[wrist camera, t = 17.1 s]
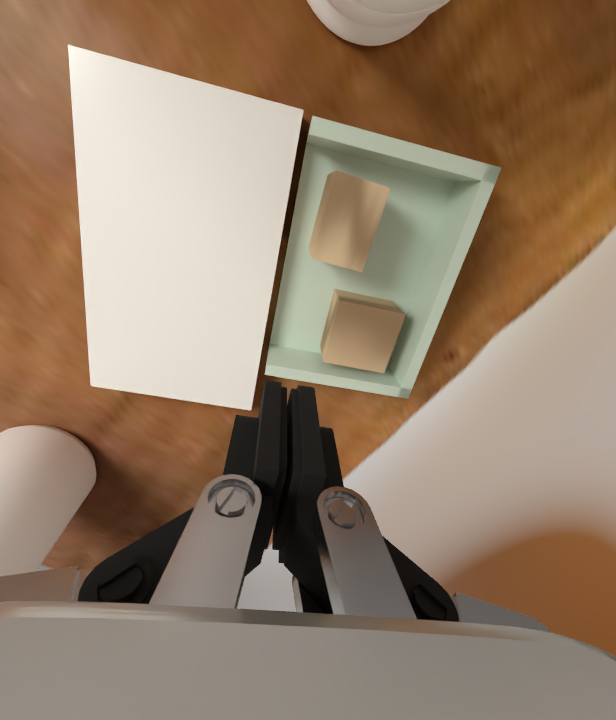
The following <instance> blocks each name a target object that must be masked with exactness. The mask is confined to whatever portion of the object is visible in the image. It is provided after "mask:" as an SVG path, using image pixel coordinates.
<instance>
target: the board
mask: <svg viewBox="0 0 616 720" xmlns="http://www.w3.org/2000/svg"><path fill="white" fill-rule="evenodd" d="M68 51H69V66H70V81H71V97H72V112H73V127H74V142H75V157H76V172H77V187H78V202H79V217H80V232H81V247H82V262H83V278H84V293H85V308H86V323H87V338H88V353H89V368H90V383H91V386H95V387H101V388H108V389H114V390H121V391H127V392H134V393H140V394H147V395H153V396H160V397H166V398H173V399H179V400H186V401H192V402H199V403H205V404H212V405H218V406H225V407H231V408H238V409H244V410H251V409H252V403H253V398H254V392H255V387H256V381H257V375H258V369H259V364H260V358H261V352H262V346H263V341H264V335H265V329H266V324H267V318H268V312H269V306H270V301H271V295H272V289H273V283H274V278H275V272H276V266H277V261H278V255H279V249H280V243H281V238H282V232H283V226H284V221H285V215H286V209H287V203H288V198H289V192H290V186H291V180H292V175H293V169H294V163H295V158H296V152H297V146H298V140H299V135H300V129H301V123H302V117H303V110H302V109H298V108H295V107H291V106H287V105H284V104H280V103H277V102H273V101H269V100H266V99H262V98H259V97H255V96H251V95H248V94H244V93H240V92H237V91H233V90H230V89H226V88H222V87H219V86H215V85H212V84H208V83H204V82H201V81H197V80H194V79H190V78H186V77H183V76H179V75H175V74H172V73H168V72H165V71H161V70H157V69H154V68H150V67H147V66H143V65H139V64H136V63H132V62H129V61H125V60H121V59H118V58H114V57H110V56H107V55H103V54H100V53H96V52H92V51H89V50H85V49H82V48H78V47H74V46H71V45H68Z"/></svg>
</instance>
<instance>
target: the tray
mask: <svg viewBox="0 0 616 720" xmlns="http://www.w3.org/2000/svg"><path fill="white" fill-rule="evenodd" d="M336 170H337V171H340V172H343V173H346V174H349V175H352V176H355V177H358V178H361V179H365V180H368V181H371V182H374V183H377V184H380V185H383V186H386V187H389V188H391V189H390V192H389V195H388V198H387V201H386V204H385V207H384V210H383V213H382V215H381V218H380V221H379V224H378V227H377V230H376V233H375V236H374V239H373V242H372V245H371V248H370V251H369V254H368V256H367V259H366V262H365V265H364V268H363V271H362V272H358V271H355V270H351V269H347V268H344V267H340V266H337V265H333V264H330V263H326V262H322V261H319V260H315V259H312V257H311V254H310V251H309V248H308V247H309V243H310V239H311V235H312V232H313V228H314V224H315V220H316V217H317V213H318V209H319V205H320V202H321V198H322V194H323V190H324V187H325V183H326V179H327V175H328V174H330V173H332V172H334V171H336ZM500 170H501V167H497V166H493V165H490V164H486V163H483V162H479V161H475V160H472V159H468V158H464V157H461V156H457V155H454V154H450V153H446V152H443V151H439V150H435V149H432V148H428V147H425V146H421V145H417V144H414V143H410V142H406V141H403V140H399V139H395V138H392V137H388V136H385V135H381V134H377V133H374V132H370V131H366V130H363V129H359V128H356V127H352V126H348V125H345V124H341V123H337V122H334V121H330V120H327V119H323V118H319V117H316V116H312V120H311V123H310V127H309V131H308V137H307V142H306V148H305V153H304V159H303V164H302V170H301V175H300V180H299V186H298V191H297V197H296V202H295V208H294V213H293V219H292V224H291V229H290V235H289V240H288V246H287V251H286V257H285V262H284V268H283V273H282V278H281V284H280V289H279V295H278V300H277V306H276V311H275V317H274V322H273V327H272V333H271V338H270V344H269V349H268V356H267V362H266V369H265V375H270V376H276V377H282V378H287V379H293V380H299V381H305V382H311V383H317V384H323V385H329V386H335V387H341V388H347V389H353V390H359V391H365V392H370V393H376V394H382V395H388V396H394V397H400V398H406V399H408V398H409V395H410V393H411V390H412V388H413V385H414V383H415V380H416V378H417V375H418V373H419V370H420V368H421V366H422V363H423V361H424V358H425V356H426V353H427V351H428V348H429V346H430V343H431V341H432V338H433V336H434V333H435V331H436V328H437V326H438V324H439V321H440V319H441V316H442V314H443V311H444V309H445V306H446V304H447V301H448V299H449V296H450V294H451V291H452V289H453V286H454V284H455V282H456V279H457V277H458V274H459V272H460V269H461V267H462V264H463V262H464V259H465V257H466V254H467V252H468V249H469V247H470V245H471V242H472V240H473V237H474V235H475V232H476V230H477V227H478V225H479V222H480V220H481V217H482V215H483V212H484V210H485V207H486V205H487V203H488V200H489V198H490V195H491V193H492V190H493V188H494V185H495V183H496V180H497V178H498V175H499V173H500ZM334 289H338V290H343V291H347V292H352V293H357V294H361V295H366V296H371V297H375V298H380V299H384V300H389V301H393V302H394V303H395V304H396V305H397V306H398V307H399V308H400V309H401V310H402V311H403V312H404V313H405V317H404V320H403V323H402V325H401V328H400V331H399V334H398V336H397V339H396V342H395V345H394V347H393V350H392V353H391V356H390V359H389V361H388V364H387V367H386V370H385V372H384V373H379V372H374V371H369V370H363V369H358V368H352V367H347V366H341V365H336V364H330V363H325V362H323V359H322V354H321V348H320V342H321V339H322V335H323V331H324V327H325V323H326V319H327V316H328V312H329V308H330V304H331V300H332V296H333V293H334Z"/></svg>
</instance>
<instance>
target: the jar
mask: <svg viewBox="0 0 616 720" xmlns="http://www.w3.org/2000/svg"><path fill="white" fill-rule="evenodd" d="M449 1H451V0H307V2H308V4H309V5H310V7H311V9H312V10H313V12H314V13H315V14H316V16H317V17H318V18H319V20H320V21H321V22H322V23H323V24H324V25H325V26H326V27H327V28H328V29H329V30H331V31H332V32H333V33H334V34H336V35H337V36H339V37H341V38H342V39H344V40H347V41H349V42H352V43H355V44H358V45H365V46H378V45H384V44H388V43H391V42H394V41H396V40H399V39H401V38H402V37H404V36H406V35H407V34H409V33H410V32H412V31H413V30H414V29H415V28H417V27H418V26H419V25H420V24H421V23H422V22H423V21H424V20H425V19H426V18H427V17H428V15H429V14H431V13H433V12H434V11H436V10H438V9H439V8H441V7H442V6H444V5H445V4H446V3H448V2H449Z"/></svg>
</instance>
